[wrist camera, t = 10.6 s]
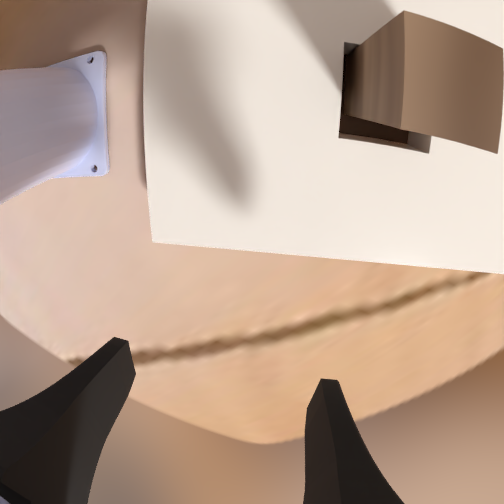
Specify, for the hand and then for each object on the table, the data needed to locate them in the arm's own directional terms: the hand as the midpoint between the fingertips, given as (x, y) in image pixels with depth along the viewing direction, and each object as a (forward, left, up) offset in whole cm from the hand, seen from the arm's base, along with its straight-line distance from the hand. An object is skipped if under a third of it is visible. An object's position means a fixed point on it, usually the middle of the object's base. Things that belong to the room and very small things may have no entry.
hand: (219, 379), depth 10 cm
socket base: (+6, +10, -9) cm, 15 cm away
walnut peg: (+6, +10, -9) cm, 15 cm away
